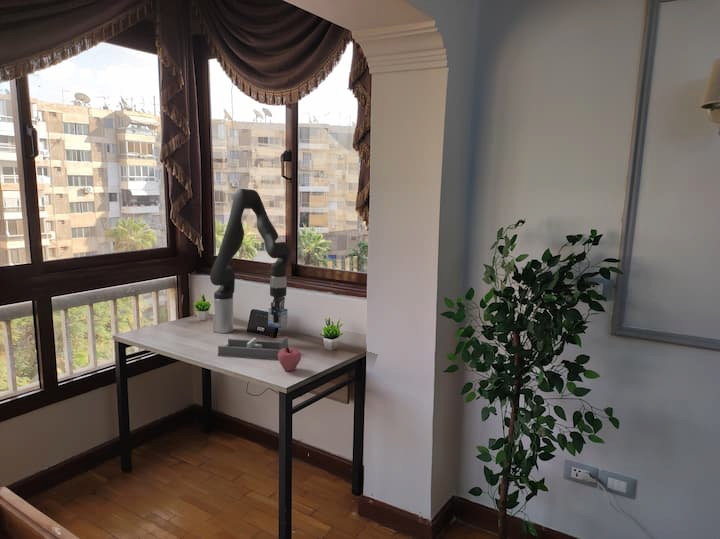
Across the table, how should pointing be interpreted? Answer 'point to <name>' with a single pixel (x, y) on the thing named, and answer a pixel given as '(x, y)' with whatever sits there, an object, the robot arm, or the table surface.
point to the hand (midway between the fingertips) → (277, 321)
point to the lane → (252, 349)
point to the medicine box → (281, 319)
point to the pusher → (253, 344)
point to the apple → (289, 358)
